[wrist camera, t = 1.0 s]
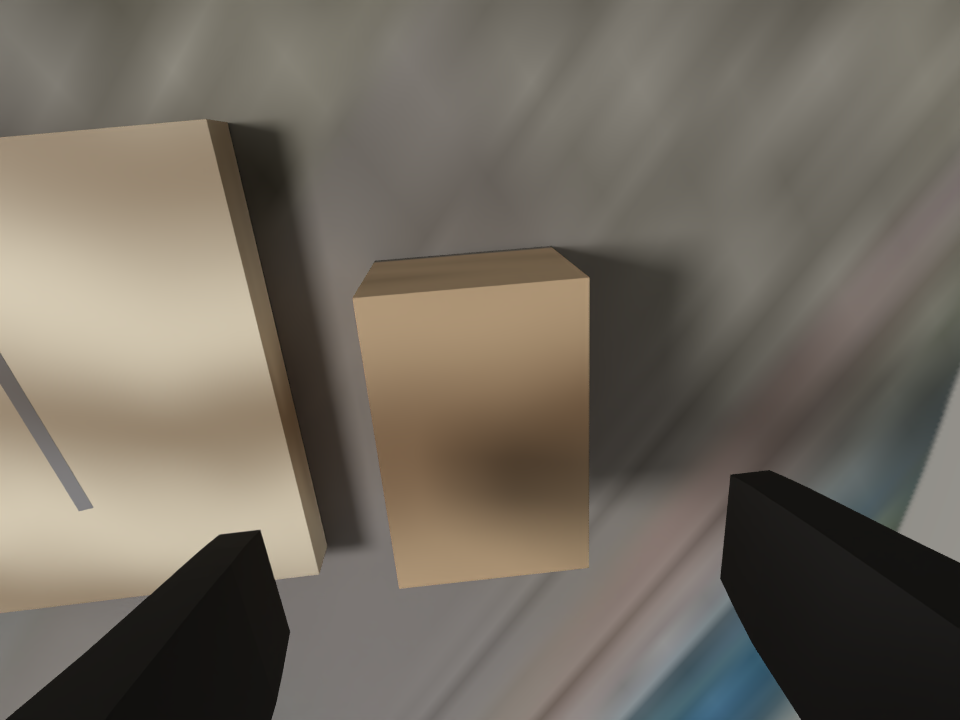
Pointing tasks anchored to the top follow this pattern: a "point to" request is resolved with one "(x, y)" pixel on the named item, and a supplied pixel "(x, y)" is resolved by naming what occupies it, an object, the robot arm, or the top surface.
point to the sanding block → (480, 411)
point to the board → (138, 368)
